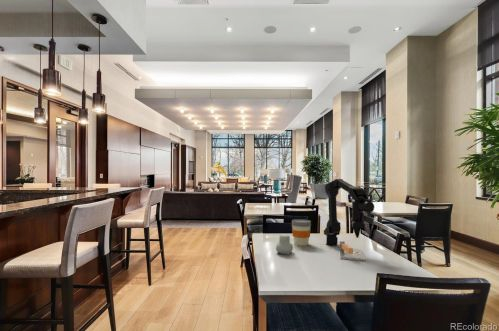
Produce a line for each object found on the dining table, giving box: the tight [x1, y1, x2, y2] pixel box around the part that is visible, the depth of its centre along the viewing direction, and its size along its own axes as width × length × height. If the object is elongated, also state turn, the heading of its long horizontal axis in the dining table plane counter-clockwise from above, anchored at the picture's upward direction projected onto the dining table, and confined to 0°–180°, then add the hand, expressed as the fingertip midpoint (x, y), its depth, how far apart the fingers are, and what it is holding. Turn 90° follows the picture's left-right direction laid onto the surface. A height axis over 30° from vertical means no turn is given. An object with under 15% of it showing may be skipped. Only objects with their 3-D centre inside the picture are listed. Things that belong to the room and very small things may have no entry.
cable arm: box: [339, 240, 354, 254], centre depth 157 cm, size 13×3×4 cm, turn 5°
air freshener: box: [275, 233, 294, 255], centre depth 163 cm, size 11×8×10 cm
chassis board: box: [339, 247, 366, 262], centre depth 160 cm, size 12×20×3 cm, turn 163°
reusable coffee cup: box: [291, 218, 312, 247], centre depth 184 cm, size 13×13×15 cm
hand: (357, 237), depth 159 cm, fingers closed
